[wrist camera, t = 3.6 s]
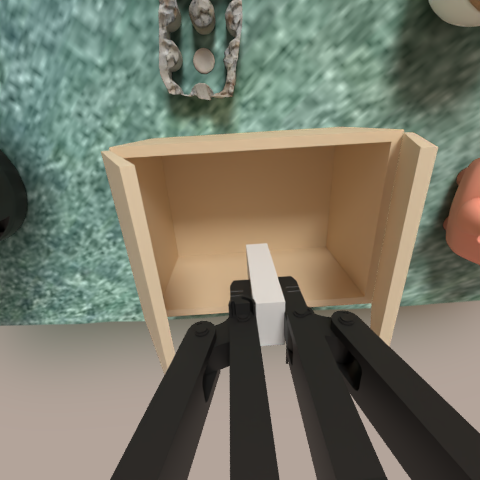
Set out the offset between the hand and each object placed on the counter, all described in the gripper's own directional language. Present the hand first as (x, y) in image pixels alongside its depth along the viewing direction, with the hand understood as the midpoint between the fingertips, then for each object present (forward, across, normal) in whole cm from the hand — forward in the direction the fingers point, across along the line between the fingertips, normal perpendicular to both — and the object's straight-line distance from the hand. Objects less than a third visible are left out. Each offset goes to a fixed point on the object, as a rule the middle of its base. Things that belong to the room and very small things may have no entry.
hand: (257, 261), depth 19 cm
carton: (+16, +1, 0) cm, 16 cm away
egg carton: (+17, -4, +17) cm, 24 cm away
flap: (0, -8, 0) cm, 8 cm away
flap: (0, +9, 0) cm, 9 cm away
